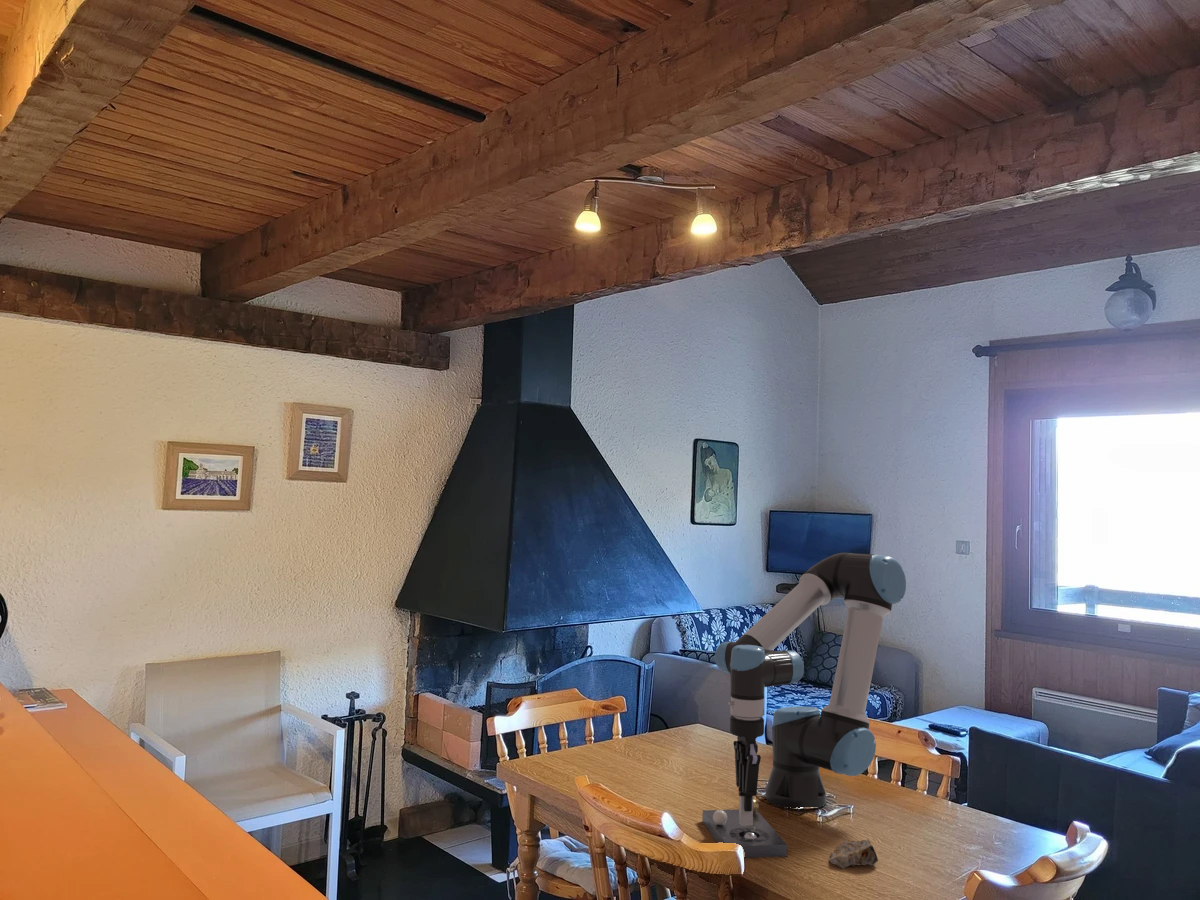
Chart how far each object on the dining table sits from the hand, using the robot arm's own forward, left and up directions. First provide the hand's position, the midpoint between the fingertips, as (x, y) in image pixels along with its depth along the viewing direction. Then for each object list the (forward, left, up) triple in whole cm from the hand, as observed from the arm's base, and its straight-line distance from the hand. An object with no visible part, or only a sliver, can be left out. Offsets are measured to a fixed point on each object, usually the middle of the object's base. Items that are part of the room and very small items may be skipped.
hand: (745, 824), depth 196 cm
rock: (-20, +13, -4) cm, 24 cm away
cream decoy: (+5, -4, 0) cm, 6 cm away
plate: (0, -3, -4) cm, 5 cm away
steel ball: (0, +3, -2) cm, 4 cm away
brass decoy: (-5, -11, 0) cm, 12 cm away
